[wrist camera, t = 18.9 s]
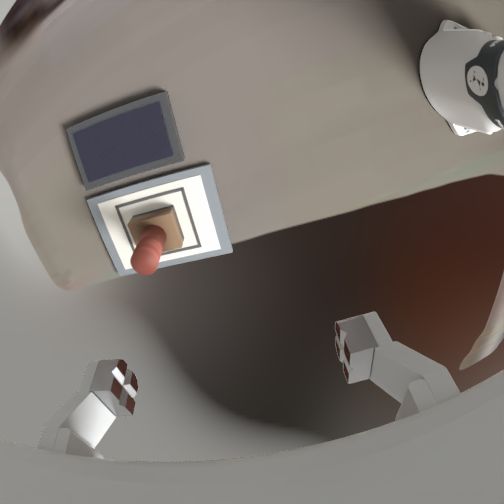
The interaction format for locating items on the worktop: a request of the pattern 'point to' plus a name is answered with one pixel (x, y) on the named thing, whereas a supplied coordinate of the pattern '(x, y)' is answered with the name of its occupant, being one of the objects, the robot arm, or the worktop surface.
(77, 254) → the worktop surface
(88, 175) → the ink pad
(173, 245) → the stamp
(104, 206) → the board
